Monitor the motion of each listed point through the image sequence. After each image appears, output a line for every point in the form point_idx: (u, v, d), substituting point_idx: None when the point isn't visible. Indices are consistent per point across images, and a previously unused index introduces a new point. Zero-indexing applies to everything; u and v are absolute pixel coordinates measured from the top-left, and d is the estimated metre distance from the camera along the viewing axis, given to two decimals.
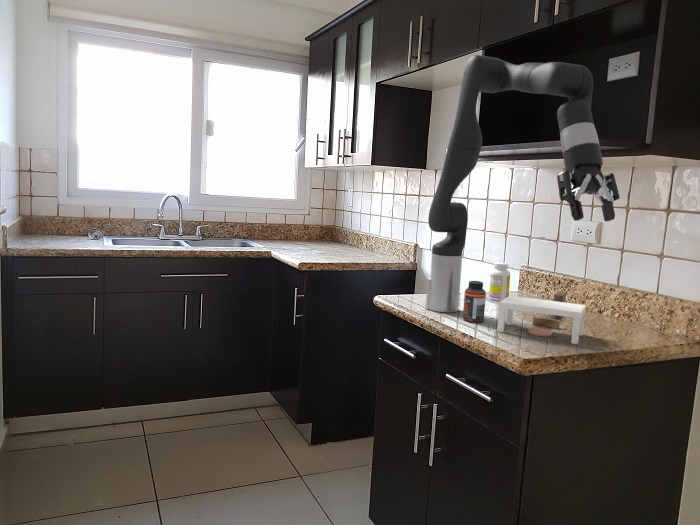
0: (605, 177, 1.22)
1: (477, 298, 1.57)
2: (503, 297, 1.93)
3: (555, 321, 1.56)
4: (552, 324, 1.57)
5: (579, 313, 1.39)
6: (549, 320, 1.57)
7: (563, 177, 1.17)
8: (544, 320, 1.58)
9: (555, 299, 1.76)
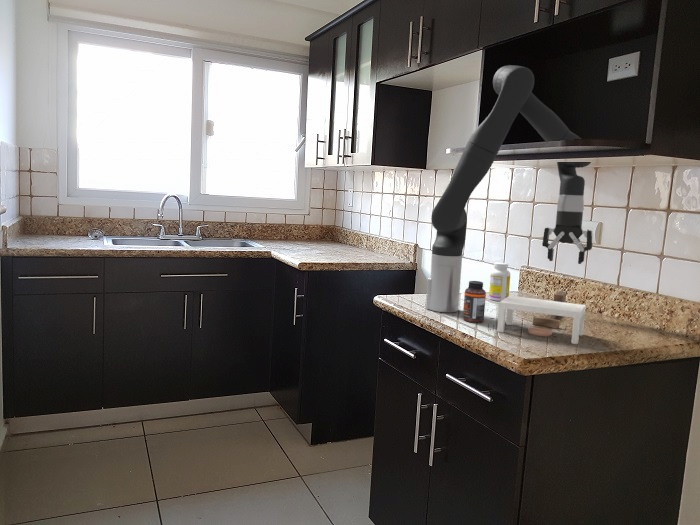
0: None
1: (477, 298, 1.57)
2: (503, 297, 1.93)
3: (555, 321, 1.56)
4: (552, 324, 1.57)
5: (579, 313, 1.39)
6: (549, 320, 1.57)
7: None
8: (544, 320, 1.58)
9: (555, 299, 1.76)
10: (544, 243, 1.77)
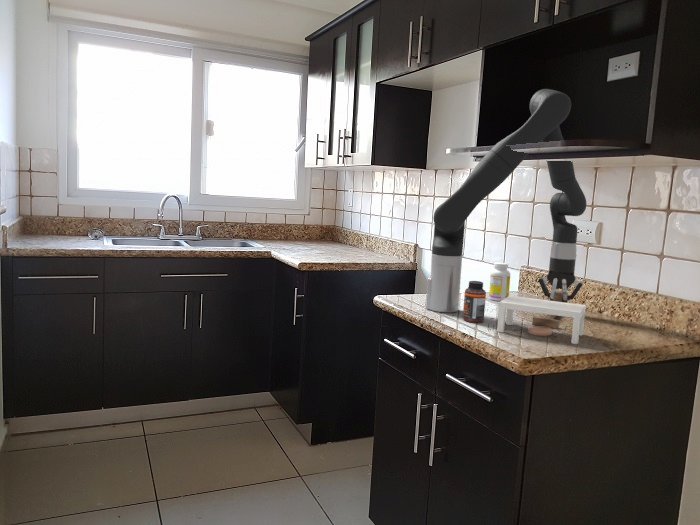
0: None
1: (477, 298, 1.57)
2: (503, 297, 1.93)
3: (554, 321, 1.56)
4: (551, 324, 1.57)
5: (579, 313, 1.39)
6: (548, 320, 1.57)
7: None
8: (543, 320, 1.58)
9: (555, 299, 1.76)
10: (546, 293, 1.78)
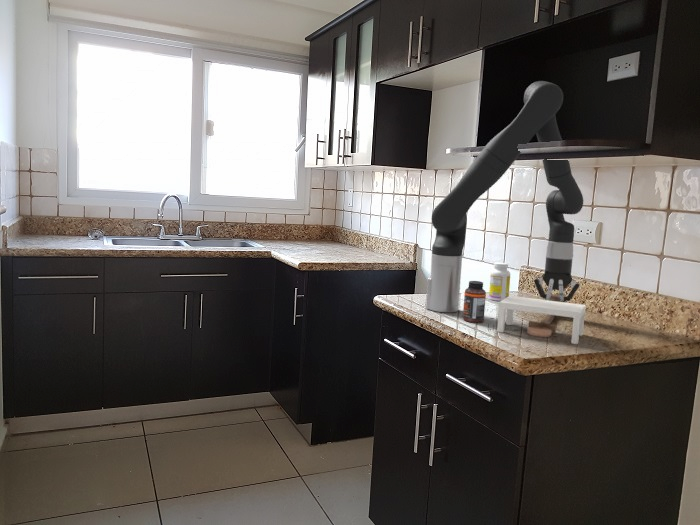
0: None
1: (477, 298, 1.57)
2: (503, 297, 1.93)
3: (551, 326, 1.50)
4: None
5: (579, 313, 1.39)
6: (545, 325, 1.51)
7: None
8: (540, 325, 1.51)
9: None
10: (542, 294, 1.72)
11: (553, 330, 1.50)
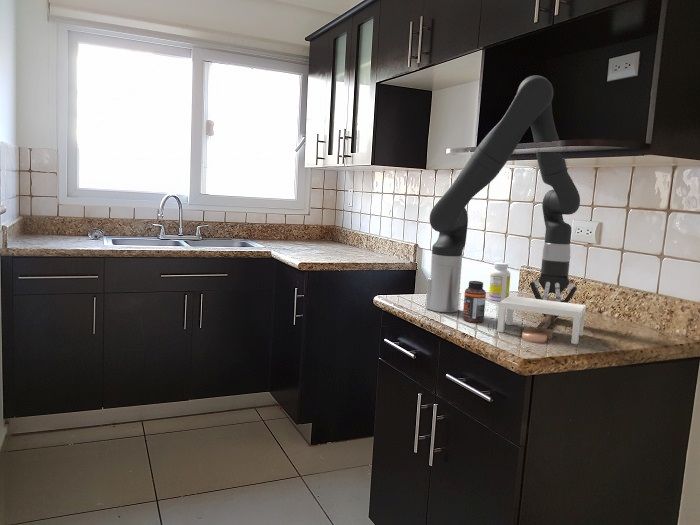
0: None
1: (477, 298, 1.57)
2: (503, 297, 1.93)
3: (547, 331, 1.44)
4: None
5: (579, 313, 1.39)
6: (541, 330, 1.45)
7: None
8: (536, 330, 1.45)
9: None
10: (538, 298, 1.65)
11: (549, 335, 1.44)
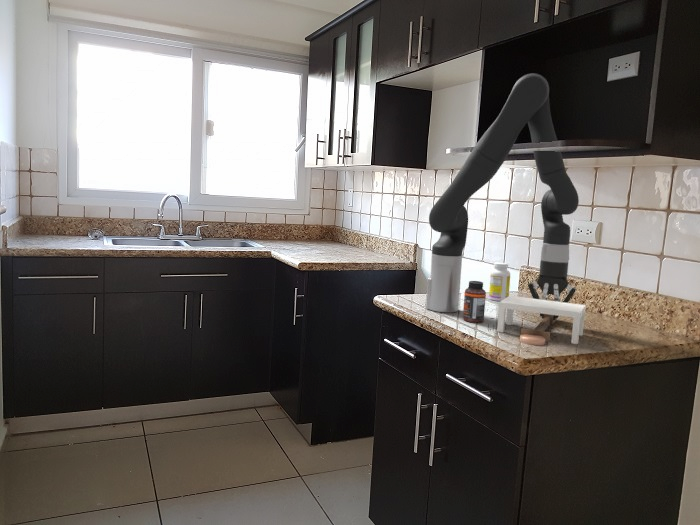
0: None
1: (477, 298, 1.57)
2: (503, 297, 1.93)
3: (545, 333, 1.41)
4: None
5: (579, 313, 1.39)
6: (538, 332, 1.42)
7: None
8: (533, 332, 1.43)
9: None
10: None
11: (547, 338, 1.41)
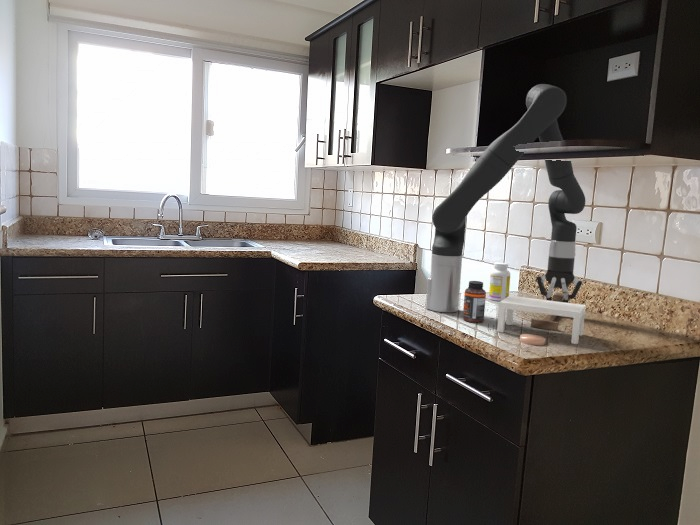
0: None
1: (477, 298, 1.57)
2: (503, 297, 1.93)
3: (553, 323, 1.54)
4: (550, 326, 1.54)
5: (579, 313, 1.39)
6: (547, 322, 1.54)
7: None
8: (542, 322, 1.55)
9: (554, 300, 1.73)
10: (543, 292, 1.75)
11: (555, 327, 1.54)
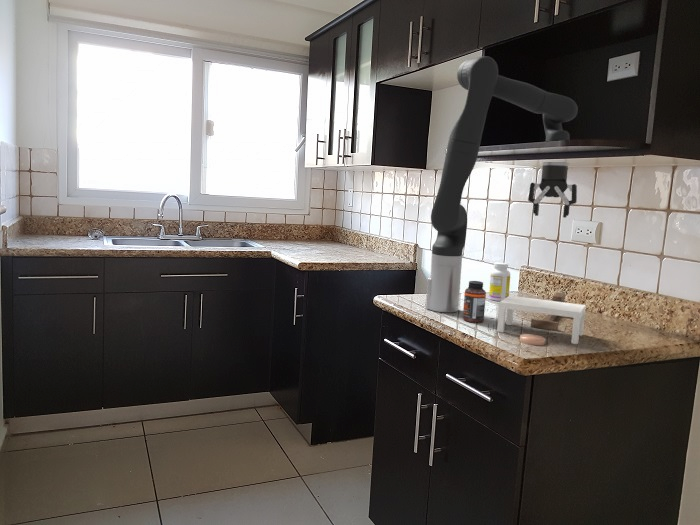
0: None
1: (477, 298, 1.57)
2: (503, 297, 1.93)
3: (553, 323, 1.54)
4: (550, 326, 1.54)
5: (579, 313, 1.39)
6: (547, 322, 1.54)
7: (576, 189, 1.74)
8: (542, 322, 1.55)
9: (554, 300, 1.73)
10: (530, 198, 1.79)
11: (555, 327, 1.54)
